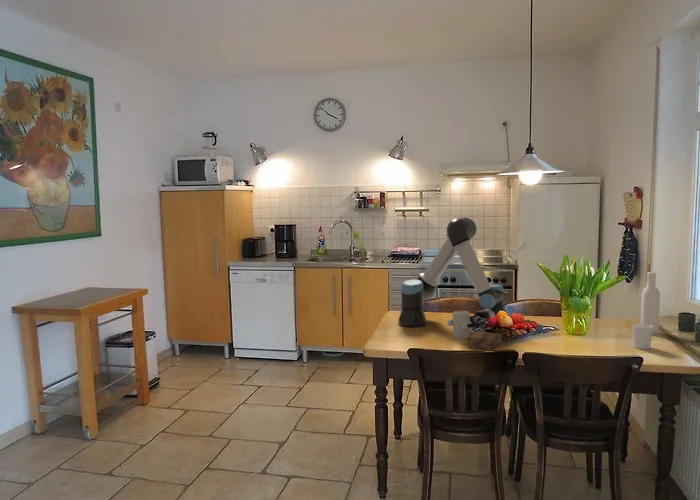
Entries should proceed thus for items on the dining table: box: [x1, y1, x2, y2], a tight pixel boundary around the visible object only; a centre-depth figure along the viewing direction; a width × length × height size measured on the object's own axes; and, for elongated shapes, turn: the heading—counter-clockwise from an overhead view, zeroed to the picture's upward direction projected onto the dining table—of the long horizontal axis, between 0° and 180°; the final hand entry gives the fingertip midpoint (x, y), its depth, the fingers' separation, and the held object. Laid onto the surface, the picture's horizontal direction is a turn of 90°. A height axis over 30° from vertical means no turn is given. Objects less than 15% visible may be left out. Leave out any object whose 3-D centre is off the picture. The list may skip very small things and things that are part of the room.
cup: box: [452, 310, 471, 340], centre depth 256 cm, size 8×8×12 cm
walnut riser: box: [467, 330, 502, 351], centre depth 239 cm, size 12×12×5 cm
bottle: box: [640, 271, 661, 336], centre depth 255 cm, size 8×8×30 cm
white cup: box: [632, 322, 653, 350], centre depth 232 cm, size 8×8×10 cm
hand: (455, 325), depth 253 cm, fingers closed on cup, 8 cm apart
